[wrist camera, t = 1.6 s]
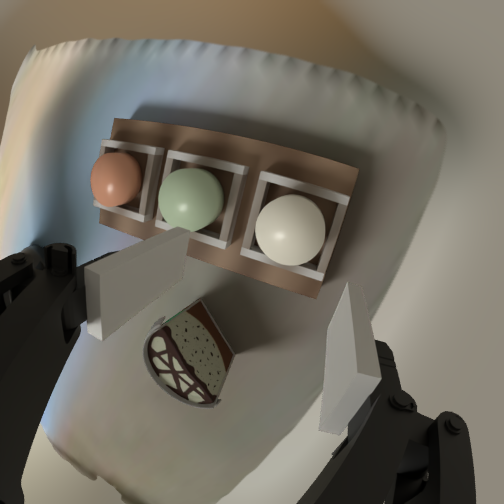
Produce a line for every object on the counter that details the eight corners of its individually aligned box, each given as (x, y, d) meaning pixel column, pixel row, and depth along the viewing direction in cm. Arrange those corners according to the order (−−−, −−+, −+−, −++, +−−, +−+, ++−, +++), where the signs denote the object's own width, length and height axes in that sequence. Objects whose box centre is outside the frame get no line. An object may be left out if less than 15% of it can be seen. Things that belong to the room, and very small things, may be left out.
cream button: (254, 246, 28) (248, 253, 26) (270, 186, 26) (265, 188, 24) (314, 265, 27) (312, 274, 25) (333, 205, 25) (334, 208, 23)
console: (113, 218, 37) (90, 225, 33) (128, 120, 32) (105, 116, 28) (317, 288, 32) (315, 306, 28) (356, 169, 28) (361, 168, 23)
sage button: (166, 218, 30) (154, 222, 27) (176, 163, 28) (164, 163, 25) (217, 234, 29) (207, 240, 26) (230, 175, 27) (221, 176, 24)
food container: (162, 302, 39) (120, 337, 29) (195, 288, 36) (154, 325, 27) (206, 370, 40) (177, 415, 31) (240, 362, 38) (215, 411, 29)
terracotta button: (101, 198, 31) (88, 200, 29) (108, 149, 29) (94, 149, 27) (137, 209, 30) (124, 212, 28) (146, 156, 28) (132, 156, 26)
